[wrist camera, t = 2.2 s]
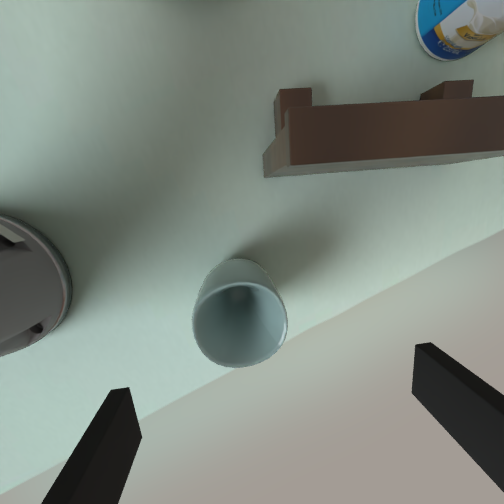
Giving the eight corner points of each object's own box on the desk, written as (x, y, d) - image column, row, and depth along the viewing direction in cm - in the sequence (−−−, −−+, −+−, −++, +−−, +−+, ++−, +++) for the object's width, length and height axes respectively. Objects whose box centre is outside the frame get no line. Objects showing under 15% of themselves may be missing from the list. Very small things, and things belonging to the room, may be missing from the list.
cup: (275, 302, 30) (297, 354, 20) (214, 319, 29) (207, 379, 20) (261, 243, 28) (277, 268, 18) (196, 260, 27) (177, 295, 18)
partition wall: (261, 180, 26) (290, 165, 13) (256, 102, 24) (284, 0, 12) (453, 166, 28) (641, 140, 15) (462, 91, 26) (683, -9, 13)
